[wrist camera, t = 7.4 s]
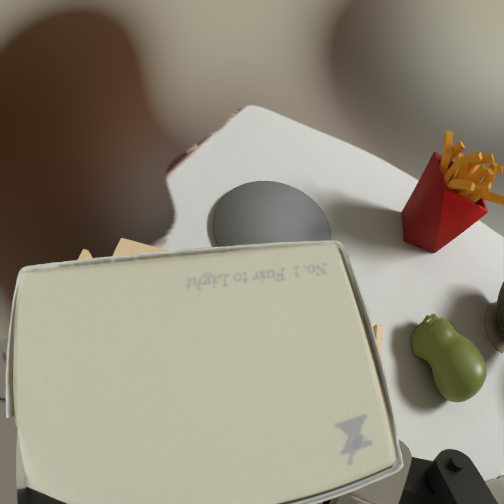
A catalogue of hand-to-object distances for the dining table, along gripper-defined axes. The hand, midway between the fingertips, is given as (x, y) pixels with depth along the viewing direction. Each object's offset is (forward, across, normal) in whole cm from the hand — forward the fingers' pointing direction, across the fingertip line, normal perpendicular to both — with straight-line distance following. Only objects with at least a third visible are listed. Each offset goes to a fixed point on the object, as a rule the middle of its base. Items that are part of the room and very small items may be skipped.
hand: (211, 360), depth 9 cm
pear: (+15, -21, +6) cm, 27 cm away
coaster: (+23, -2, -2) cm, 23 cm away
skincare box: (+4, 0, +6) cm, 7 cm away
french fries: (+26, -21, -4) cm, 34 cm away
